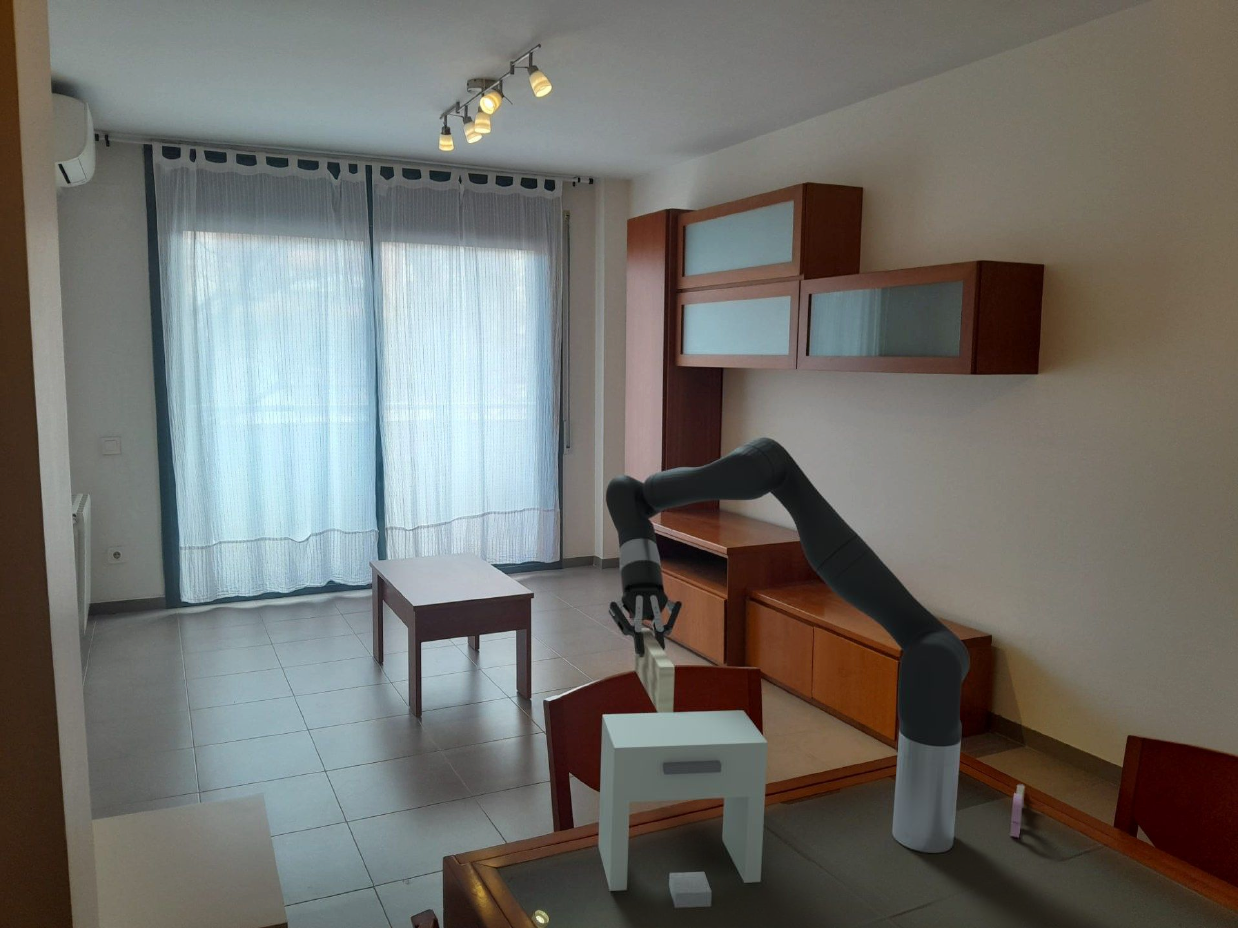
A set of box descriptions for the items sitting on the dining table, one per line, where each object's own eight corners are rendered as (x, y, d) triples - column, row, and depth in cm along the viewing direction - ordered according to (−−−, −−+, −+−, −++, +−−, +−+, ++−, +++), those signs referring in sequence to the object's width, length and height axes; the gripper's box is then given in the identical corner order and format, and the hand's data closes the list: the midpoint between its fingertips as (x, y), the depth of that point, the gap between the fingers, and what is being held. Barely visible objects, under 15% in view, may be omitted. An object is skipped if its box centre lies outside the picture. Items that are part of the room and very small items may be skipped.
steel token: (669, 888, 131) (669, 872, 130) (703, 887, 131) (704, 871, 131) (675, 909, 126) (675, 893, 125) (710, 908, 126) (711, 891, 126)
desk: (598, 846, 141) (602, 714, 138) (737, 838, 144) (743, 710, 142) (611, 895, 128) (615, 751, 125) (763, 886, 131) (770, 745, 129)
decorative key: (1023, 809, 163) (1017, 841, 145) (1016, 807, 164) (1009, 839, 146) (1027, 771, 164) (1021, 798, 146) (1019, 769, 164) (1013, 796, 146)
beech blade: (634, 668, 167) (635, 628, 167) (647, 668, 168) (648, 628, 167) (658, 713, 146) (659, 667, 145) (673, 712, 146) (674, 666, 145)
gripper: (605, 558, 165) (613, 645, 154) (681, 558, 167) (694, 644, 157) (600, 580, 171) (608, 665, 160) (674, 579, 173) (686, 663, 162)
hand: (650, 654), depth 158 cm, fingers closed on beech blade, 2 cm apart
